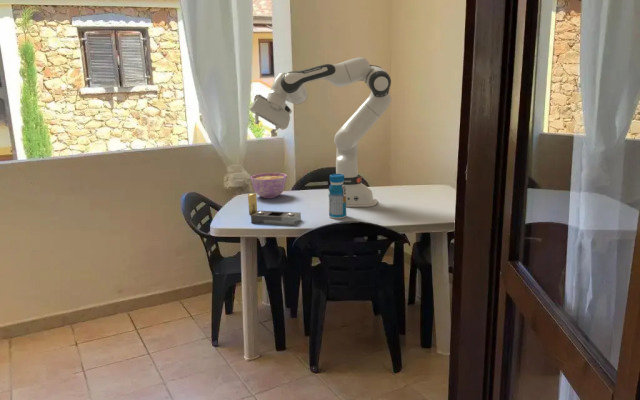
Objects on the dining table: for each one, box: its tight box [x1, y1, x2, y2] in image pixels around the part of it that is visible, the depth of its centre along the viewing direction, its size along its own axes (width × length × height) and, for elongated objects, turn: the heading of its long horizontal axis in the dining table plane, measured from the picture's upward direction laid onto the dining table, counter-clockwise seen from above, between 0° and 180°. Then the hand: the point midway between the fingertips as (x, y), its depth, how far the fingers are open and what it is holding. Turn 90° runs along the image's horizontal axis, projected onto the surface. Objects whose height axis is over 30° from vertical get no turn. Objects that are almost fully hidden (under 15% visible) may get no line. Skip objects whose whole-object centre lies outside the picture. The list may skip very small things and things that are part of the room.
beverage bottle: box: [327, 173, 347, 220], centre depth 243 cm, size 8×8×20 cm
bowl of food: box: [250, 172, 288, 199], centre depth 288 cm, size 20×20×12 cm
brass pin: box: [247, 192, 258, 216], centre depth 253 cm, size 4×4×10 cm
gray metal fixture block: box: [250, 210, 302, 226], centre depth 240 cm, size 21×9×4 cm, turn 73°
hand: (264, 128), depth 248 cm, fingers open, 8 cm apart
